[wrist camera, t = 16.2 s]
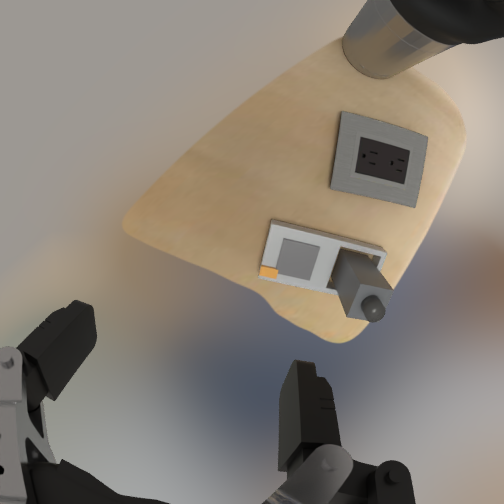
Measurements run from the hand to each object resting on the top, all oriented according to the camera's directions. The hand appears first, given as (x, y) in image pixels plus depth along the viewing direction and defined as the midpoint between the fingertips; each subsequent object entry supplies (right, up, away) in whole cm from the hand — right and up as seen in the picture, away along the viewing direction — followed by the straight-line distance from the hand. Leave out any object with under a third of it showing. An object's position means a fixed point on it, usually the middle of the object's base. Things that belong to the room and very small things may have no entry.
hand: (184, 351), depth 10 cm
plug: (+17, +2, +30) cm, 35 cm away
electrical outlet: (+20, +17, +25) cm, 36 cm away
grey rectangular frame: (+13, +3, +30) cm, 33 cm away
